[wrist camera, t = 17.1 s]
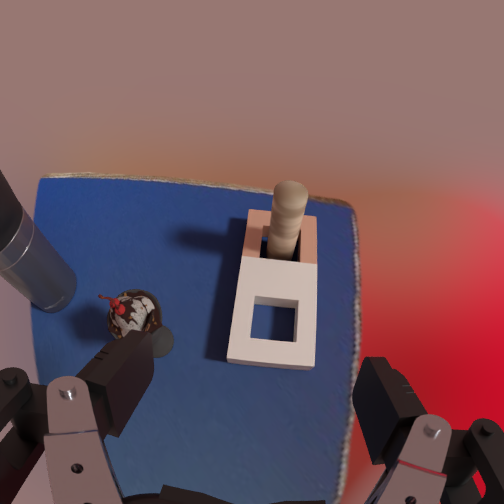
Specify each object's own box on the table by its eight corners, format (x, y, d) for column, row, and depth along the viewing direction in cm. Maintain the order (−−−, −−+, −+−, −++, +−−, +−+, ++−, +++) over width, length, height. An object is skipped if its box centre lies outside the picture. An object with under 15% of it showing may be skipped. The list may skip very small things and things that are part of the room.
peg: (260, 250, 47) (267, 188, 35) (282, 239, 48) (293, 176, 37) (276, 270, 45) (288, 210, 33) (297, 257, 47) (315, 196, 35)
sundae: (128, 331, 39) (81, 285, 26) (167, 311, 41) (136, 257, 28) (145, 371, 36) (98, 341, 23) (187, 350, 38) (159, 311, 25)
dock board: (248, 220, 50) (249, 209, 48) (312, 227, 50) (316, 216, 47) (227, 362, 37) (226, 357, 35) (309, 370, 37) (314, 366, 34)
